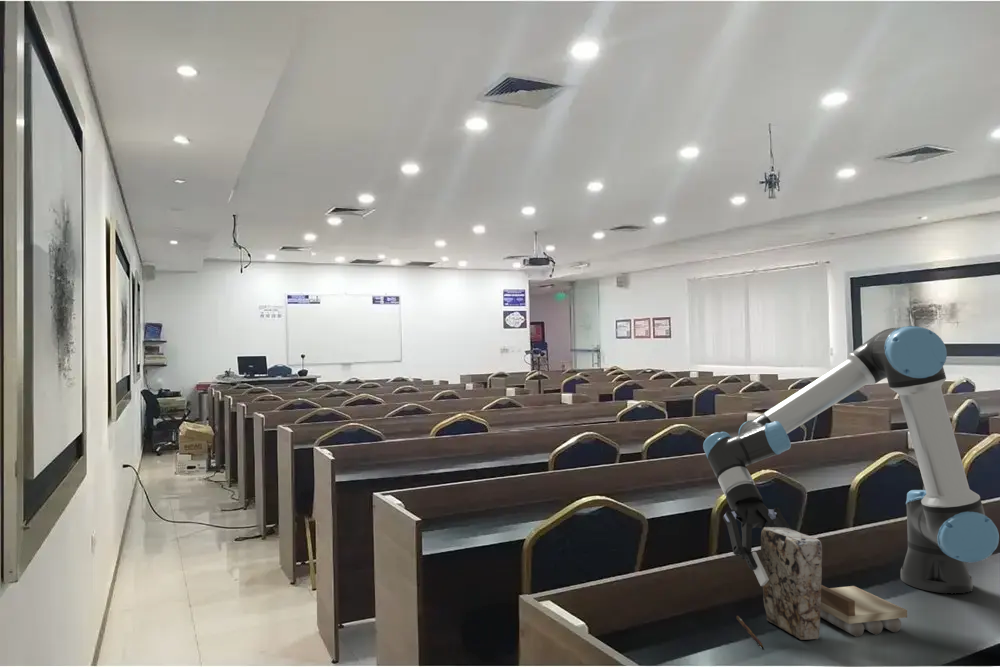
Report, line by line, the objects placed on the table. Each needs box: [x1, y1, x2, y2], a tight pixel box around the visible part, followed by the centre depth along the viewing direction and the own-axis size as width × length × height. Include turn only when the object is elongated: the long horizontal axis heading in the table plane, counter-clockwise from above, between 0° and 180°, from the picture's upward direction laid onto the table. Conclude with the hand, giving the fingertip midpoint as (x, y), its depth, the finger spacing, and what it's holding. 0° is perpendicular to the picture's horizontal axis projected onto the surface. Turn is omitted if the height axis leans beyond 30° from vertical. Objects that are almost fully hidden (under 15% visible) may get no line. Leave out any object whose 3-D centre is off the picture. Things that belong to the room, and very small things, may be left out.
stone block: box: [760, 527, 823, 641], centre depth 142 cm, size 13×7×20 cm, turn 19°
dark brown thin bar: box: [736, 615, 764, 648], centre depth 140 cm, size 15×1×1 cm, turn 179°
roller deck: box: [820, 584, 908, 638], centre depth 145 cm, size 14×15×8 cm
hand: (784, 581), depth 144 cm, fingers open, 9 cm apart
